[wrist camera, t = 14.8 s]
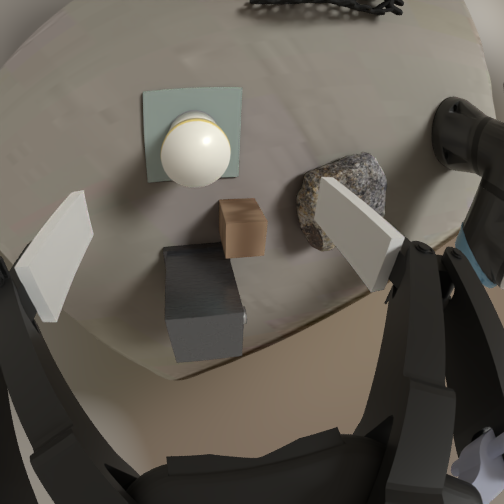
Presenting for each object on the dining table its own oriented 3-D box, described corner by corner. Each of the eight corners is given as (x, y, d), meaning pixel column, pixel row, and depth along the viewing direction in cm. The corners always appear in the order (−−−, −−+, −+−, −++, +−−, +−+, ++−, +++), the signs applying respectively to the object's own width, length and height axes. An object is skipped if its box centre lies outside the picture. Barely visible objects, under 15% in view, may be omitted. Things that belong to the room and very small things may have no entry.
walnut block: (254, 198, 38) (267, 221, 33) (252, 228, 41) (264, 255, 35) (219, 199, 37) (226, 223, 31) (219, 230, 40) (225, 258, 34)
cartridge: (219, 109, 29) (233, 120, 21) (217, 156, 33) (230, 187, 24) (168, 111, 28) (158, 123, 19) (169, 158, 32) (162, 191, 23)
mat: (241, 87, 29) (242, 87, 28) (237, 175, 36) (238, 176, 35) (143, 91, 26) (143, 91, 26) (148, 181, 33) (147, 182, 33)
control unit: (232, 241, 41) (253, 308, 30) (231, 290, 47) (248, 356, 36) (163, 247, 39) (159, 317, 28) (171, 295, 45) (173, 364, 34)
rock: (367, 143, 37) (280, 174, 38) (391, 155, 32) (294, 190, 32) (376, 210, 44) (301, 241, 45) (397, 228, 39) (315, 264, 40)
